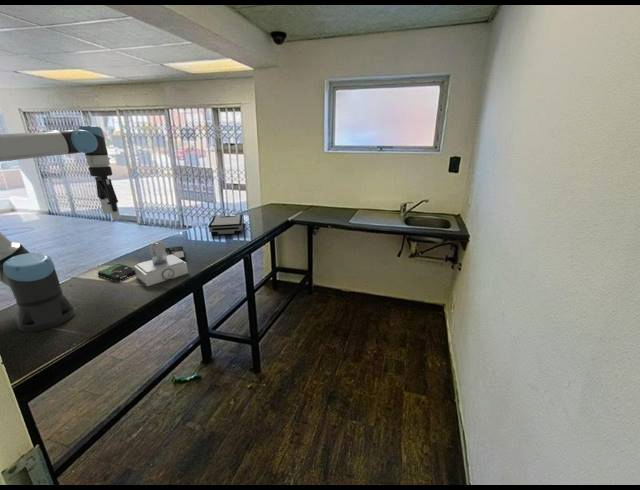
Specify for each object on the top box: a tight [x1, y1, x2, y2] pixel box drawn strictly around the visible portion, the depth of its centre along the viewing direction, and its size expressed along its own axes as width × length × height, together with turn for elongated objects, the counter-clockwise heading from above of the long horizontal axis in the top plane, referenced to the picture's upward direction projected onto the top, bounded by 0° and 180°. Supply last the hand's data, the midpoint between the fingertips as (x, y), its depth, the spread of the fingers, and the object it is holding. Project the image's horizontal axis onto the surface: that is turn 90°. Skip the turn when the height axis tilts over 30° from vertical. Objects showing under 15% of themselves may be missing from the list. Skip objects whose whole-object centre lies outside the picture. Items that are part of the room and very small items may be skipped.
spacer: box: [148, 240, 167, 265], centre depth 135 cm, size 6×6×10 cm
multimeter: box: [165, 245, 187, 263], centre depth 157 cm, size 13×19×5 cm
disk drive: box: [97, 263, 136, 282], centre depth 139 cm, size 10×3×15 cm
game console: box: [208, 213, 244, 237], centre depth 209 cm, size 21×32×8 cm, turn 13°
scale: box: [133, 255, 189, 287], centre depth 137 cm, size 18×15×6 cm
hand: (111, 216), depth 128 cm, fingers open, 13 cm apart
